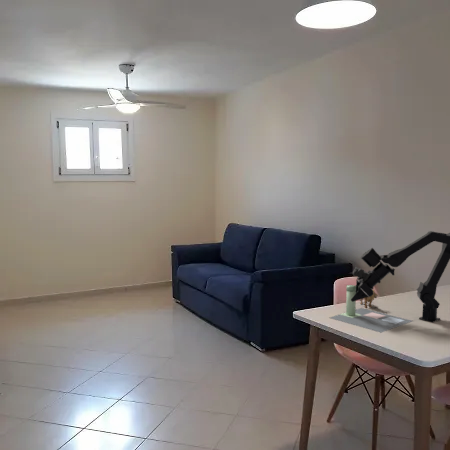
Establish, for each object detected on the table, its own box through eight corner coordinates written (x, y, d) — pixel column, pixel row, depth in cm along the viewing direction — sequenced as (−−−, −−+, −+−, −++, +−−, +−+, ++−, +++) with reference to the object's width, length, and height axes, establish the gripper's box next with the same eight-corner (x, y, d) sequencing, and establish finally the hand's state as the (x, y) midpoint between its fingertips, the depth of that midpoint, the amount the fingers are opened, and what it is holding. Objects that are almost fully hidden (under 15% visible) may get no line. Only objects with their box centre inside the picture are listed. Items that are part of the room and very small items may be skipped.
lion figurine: (378, 309, 221) (379, 290, 220) (368, 309, 220) (368, 291, 219) (364, 301, 235) (365, 283, 234) (354, 301, 234) (354, 284, 233)
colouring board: (361, 308, 222) (361, 307, 222) (413, 321, 202) (413, 320, 202) (328, 318, 207) (328, 317, 207) (381, 333, 187) (381, 332, 187)
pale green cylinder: (351, 312, 214) (352, 284, 212) (357, 315, 210) (358, 286, 209) (344, 313, 212) (344, 285, 211) (349, 316, 208) (350, 287, 207)
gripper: (362, 257, 217) (337, 280, 220) (365, 265, 199) (338, 290, 202) (379, 275, 216) (354, 297, 219) (385, 284, 198) (357, 308, 201)
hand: (350, 298), depth 210 cm, fingers open, 9 cm apart
